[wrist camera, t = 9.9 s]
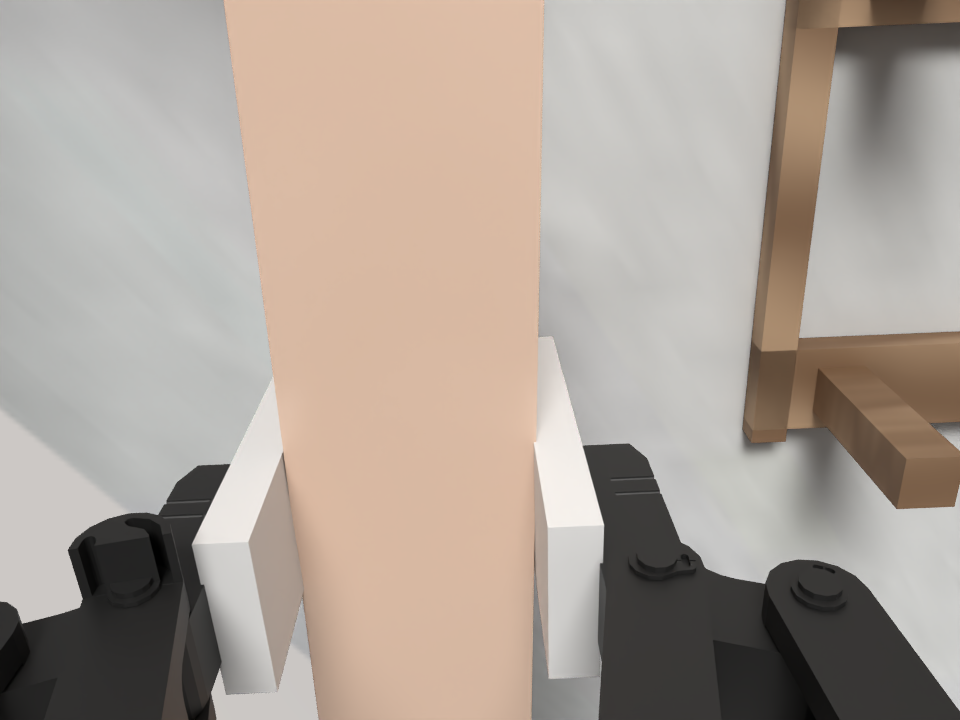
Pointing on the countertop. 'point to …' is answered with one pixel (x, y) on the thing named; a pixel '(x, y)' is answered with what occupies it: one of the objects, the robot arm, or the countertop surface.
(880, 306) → the countertop surface
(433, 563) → the clay strip
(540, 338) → the robot arm
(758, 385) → the rack
